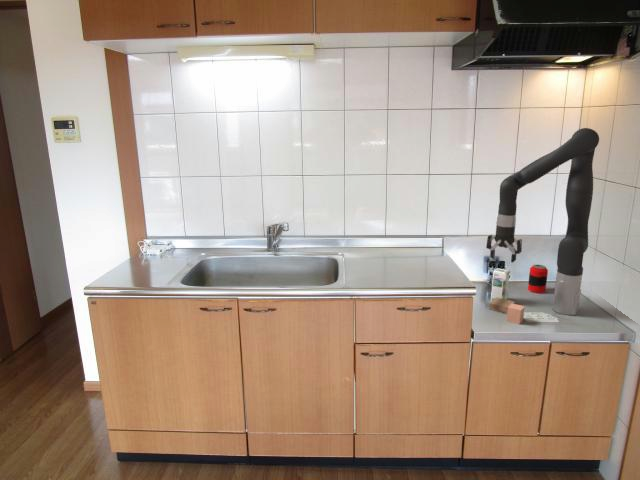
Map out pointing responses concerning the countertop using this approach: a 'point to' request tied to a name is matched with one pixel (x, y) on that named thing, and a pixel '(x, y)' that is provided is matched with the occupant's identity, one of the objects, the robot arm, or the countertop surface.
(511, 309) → the terracotta block
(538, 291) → the soda can
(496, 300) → the walnut slab
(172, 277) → the countertop surface
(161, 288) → the countertop surface
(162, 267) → the countertop surface
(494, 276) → the syrup box
